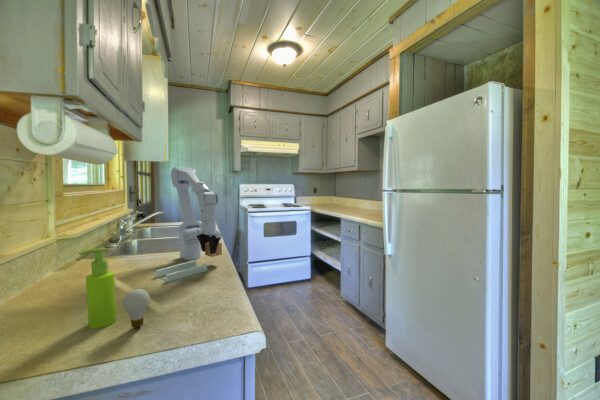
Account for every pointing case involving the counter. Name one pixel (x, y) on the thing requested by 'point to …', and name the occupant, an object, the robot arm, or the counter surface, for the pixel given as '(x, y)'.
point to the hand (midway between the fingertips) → (209, 252)
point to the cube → (218, 251)
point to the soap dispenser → (100, 291)
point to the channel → (181, 271)
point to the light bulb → (136, 306)
